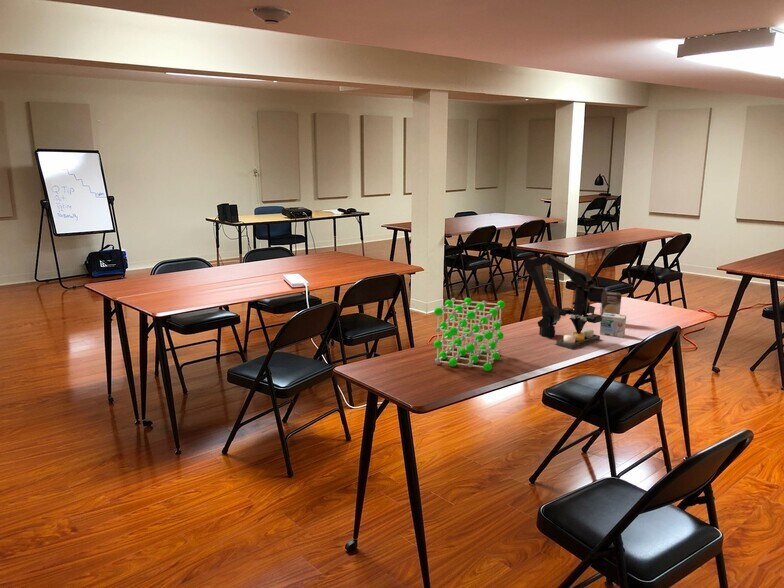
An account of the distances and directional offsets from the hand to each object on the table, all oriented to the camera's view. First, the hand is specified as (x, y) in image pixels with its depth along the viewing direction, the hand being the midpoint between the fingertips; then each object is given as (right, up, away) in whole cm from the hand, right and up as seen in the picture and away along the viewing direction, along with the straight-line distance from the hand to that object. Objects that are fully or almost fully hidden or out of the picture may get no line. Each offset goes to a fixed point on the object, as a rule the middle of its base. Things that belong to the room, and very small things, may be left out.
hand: (578, 333), depth 271 cm
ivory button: (-5, -4, -3) cm, 8 cm away
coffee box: (+27, +2, +37) cm, 45 cm away
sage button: (+5, -2, +5) cm, 8 cm away
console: (0, -5, +1) cm, 6 cm away
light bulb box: (+20, -3, +14) cm, 24 cm away
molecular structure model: (-52, -10, -18) cm, 56 cm away
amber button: (0, -3, +1) cm, 4 cm away
